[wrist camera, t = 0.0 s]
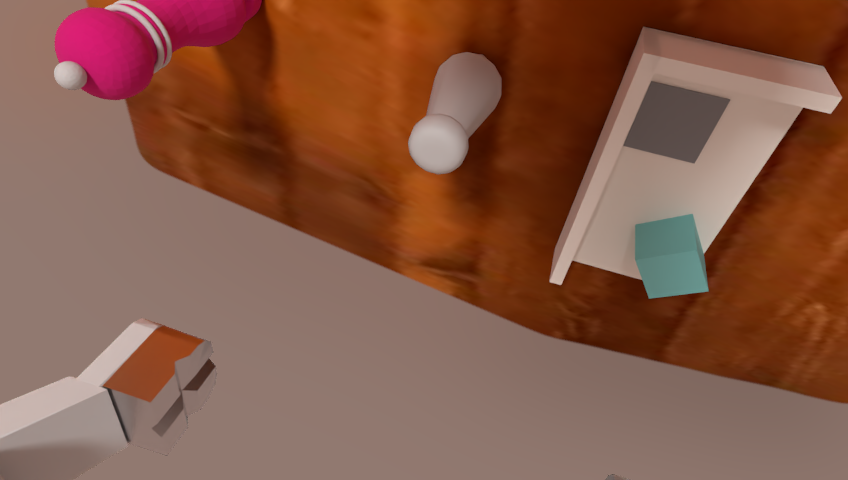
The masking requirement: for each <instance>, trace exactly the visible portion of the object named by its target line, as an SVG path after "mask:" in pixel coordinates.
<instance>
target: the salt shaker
mask: <svg viewBox="0 0 848 480" xmlns="http://www.w3.org/2000/svg"><path fill="white" fill-rule="evenodd" d="M501 88H502V78H501V76H500V74H499V73H498V71H497V69H496V67H495V65H494V64H493V63H491V62H490V61H489V60H488V59H487V58H486V57H485V56H484V55H483V54H475V53H470V52H464V53H460V54H455V55H452V56H451V57H450V58H449V59H447V60H446V61H445V62H444V63H443V64H442V65H441V66H440V67H439V69H438V72H437V74H436V77H435V79H434V83H433V88H432V92H431V96H430V101H429V105H428V110H427V114H426V116H425V117H424V118H423V119H421V120H420V121H419V122H418V123H416V125H415V126H414V128H413V130H412V133H411V135H410V137H409V141H408V145H409V152H410V155H411V157H412V158H413V160H414V161H415V163H416V164H417V165H418V166H420V167H421V168H423V169H424V170H426V171H428V172H432V173H435V174H445V173H450V172H452V171H453V170H455V169H457V168H458V167H459V166H460V165H461V164H462V163H463V160H464V158H465V156H466V154H467V152H468V148H469V146H468V138H469V137H470V136H471V135H472V134H473V133H474V132H475V131H476V129H477V128H478V127H479V126H480V125H481V124H482V123H483V122H484V120H485V119H486V118H487V117H488V116H489V115H490V114H491V113H492V111H493V110H494V109H495V108H496V106H497V104H498V102H499V100H500V97H501Z"/></svg>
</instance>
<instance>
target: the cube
mask: <svg viewBox="0 0 848 480" xmlns="http://www.w3.org/2000/svg"><path fill="white" fill-rule="evenodd" d="M635 261H636V264H637V267H638V270H639V272H640V275H641V278H642V281H643V283H644V286H645V289H646V292H647V294H648V297H649V299H650V298H658V297H667V296H675V295H683V294H691V293H699V292H707V291H709V290H708V282H707V275H706V267H705V260H704V253H703V249H702V246H701V242H700V238H699V235H698V231H697V227H696V224H695V220H694V217H693V214H688V215H683V216H678V217H673V218H667V219H662V220H657V221H652V222H646V223H641V224H636V225H635Z"/></svg>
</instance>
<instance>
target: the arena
mask: <svg viewBox="0 0 848 480" xmlns="http://www.w3.org/2000/svg"><path fill="white" fill-rule="evenodd" d="M841 99H842V96H841V95H840V93H839V91H838V90H837V88H836V86H835V85H834V83H833V81H832V79H831V78H830V76H829V74H828V73H827V71H826V69H825V68H824V66H820V65H816V64H811V63H807V62H802V61H798V60H793V59H788V58H784V57H779V56H775V55H770V54H766V53H761V52H757V51H752V50H748V49H743V48H739V47H734V46H729V45H725V44H720V43H716V42H711V41H707V40H702V39H698V38H693V37H689V36H684V35H680V34H675V33H670V32H666V31H661V30H657V29H652V28H648V27H643V28H642V31H641V33H640V36H639V38H638V41H637V43H636V46H635V48H634V51H633V53H632V56H631V59H630V61H629V64H628V66H627V69H626V71H625V74H624V76H623V79H622V81H621V84H620V86H619V89H618V91H617V94H616V96H615V99H614V101H613V104H612V106H611V109H610V111H609V114H608V116H607V119H606V121H605V124H604V126H603V129H602V131H601V134H600V137H599V139H598V142H597V144H596V147H595V149H594V152H593V154H592V157H591V159H590V162H589V164H588V167H587V169H586V172H585V174H584V177H583V179H582V182H581V184H580V187H579V189H578V192H577V194H576V197H575V199H574V202H573V204H572V207H571V209H570V212H569V214H568V217H567V220H566V222H565V225H564V227H563V230H562V232H561V235H560V237H559V240H558V242H557V245H556V247H555V251H554V257H553V263H552V269H551V275H550V281H549V282H551V283H555V284H558V285H562V282H563V280H564V278H565V275H566V273H567V271H568V269H569V266H570V264H571V262H572V261H576V262H580V263H583V264H587V265H590V266H594V267H597V268H601V269H604V270H608V271H612V272H615V273H619V274H622V275H626V276H629V277H633V278H636V279H640V280H642V278H641V275H640V272H639V270H638V267H637V264H636V261H635V225H636V224H641V223H646V222H652V221H657V220H662V219H667V218H673V217H678V216H683V215H688V214H693V217H694V220H695V224H696V227H697V231H698V235H699V238H700V242H701V246H702V249H703V253H705V252H706V250H707V249H708V247H709V246H710V244H711V243H712V241H713V240H714V238H715V237H716V235H717V234H718V232H719V231H720V229H721V228H722V227H723V225H724V224H725V222H726V221H727V219H728V218H729V216H730V215H731V213H732V212H733V210H734V209H735V207H736V206H737V204H738V203H739V201H740V200H741V199H742V197H743V196H744V194H745V193H746V191H747V190H748V188H749V187H750V185H751V184H752V182H753V181H754V179H755V178H756V176H757V175H758V173H759V172H760V170H761V169H762V168H763V166H764V165H765V163H766V162H767V160H768V159H769V157H770V156H771V154H772V153H773V151H774V150H775V148H776V147H777V145H778V144H779V142H780V141H781V140H782V138H783V137H784V135H785V134H786V132H787V131H788V129H789V128H790V126H791V125H792V123H793V122H794V120H795V119H796V117H797V116H798V114H799V113H800V112H801V110H802V109H803V108H808V109H812V110H816V111H821V112H825V113H829V114H831V113H832V112H833V110H834V109H835V107H836V106H837V105H838V103H839V102H840V101H841Z"/></svg>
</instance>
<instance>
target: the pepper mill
mask: <svg viewBox="0 0 848 480" xmlns="http://www.w3.org/2000/svg"><path fill="white" fill-rule="evenodd" d="M261 3H262V0H138V1H137V2H135V1H130V0H120V1H117V2H115V3H114V4H113V5H109V6H107V7H105V8H85V9H81V10H79V11H76V12H74V13H72V14H71V15H69V16H68V17H67V18H66V19H65V20H64V21H63V22H62V23H61V25H60V26H59V28H58V30H57V32H56V37H55V51H56V54H57V58H58V60H59V64H58V65H57V67H56V68H55V70H54V75H55V79H56V81H57V82H58V83H59V85H61V86H62V87H64V88H66V89H69V90H77V89H80V88H81V89H82V90H84V91H86V92H87V93H89V94H91V95H93V96H96V97H99V98H103V99H110V100H120V99H126V98H129V97H132V96H134V95H136V94H138V93H139V92H141V91H142V90H144V89H145V88H146V87H147V86H148V85H149V83H150V81H151V79H152V76H153V73H156V72H157V71H159V69H161V68H163V67H165V66H166V65H167V64H168V63H169V61H170V59H171V56H172V53H173V52H174V51H175V50H177V49H179V48H181V47H184V46H200V47H209V46H215V45H220V44H223V43H225V42H227V41H229V40H231V39H233V38H234V37H235V36H236V35H237V34H238V33H239V32H240V30H241V29H242V27H243V25H244V23H245V22H246V21H247V20H249V19H250V18H252V17H253V16H254V15H255V14H256V13H257V12H258V11H259V9H260V6H261Z"/></svg>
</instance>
